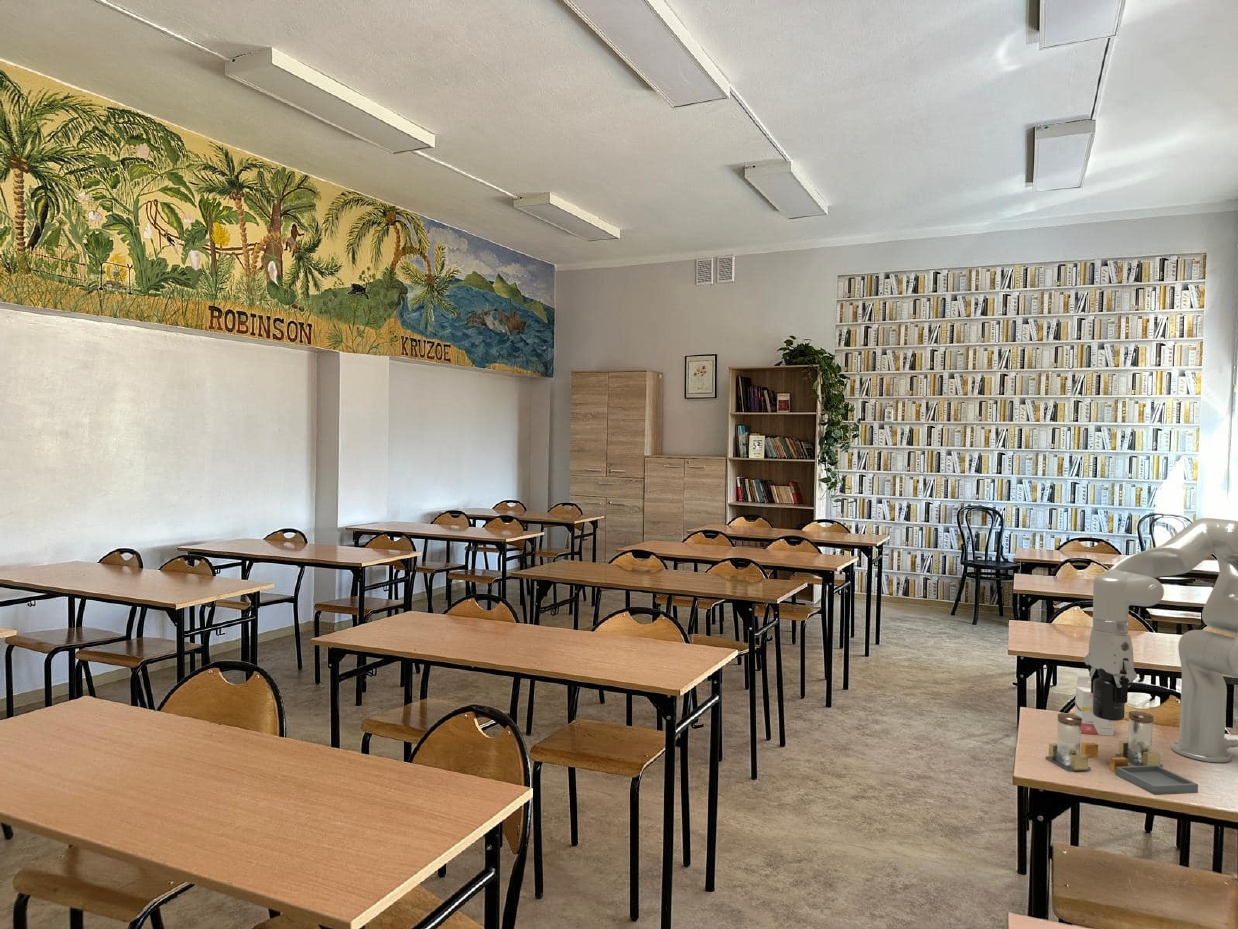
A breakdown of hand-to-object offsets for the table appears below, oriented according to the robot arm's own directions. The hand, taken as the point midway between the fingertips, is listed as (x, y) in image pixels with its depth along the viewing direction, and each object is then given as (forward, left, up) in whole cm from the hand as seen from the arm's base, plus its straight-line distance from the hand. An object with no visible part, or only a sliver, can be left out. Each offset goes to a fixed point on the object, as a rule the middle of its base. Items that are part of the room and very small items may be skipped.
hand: (1108, 697), depth 204 cm
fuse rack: (+1, 0, -16) cm, 16 cm away
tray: (-2, +13, -16) cm, 21 cm away
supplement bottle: (0, 0, -5) cm, 5 cm away
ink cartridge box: (-14, -21, -17) cm, 30 cm away
